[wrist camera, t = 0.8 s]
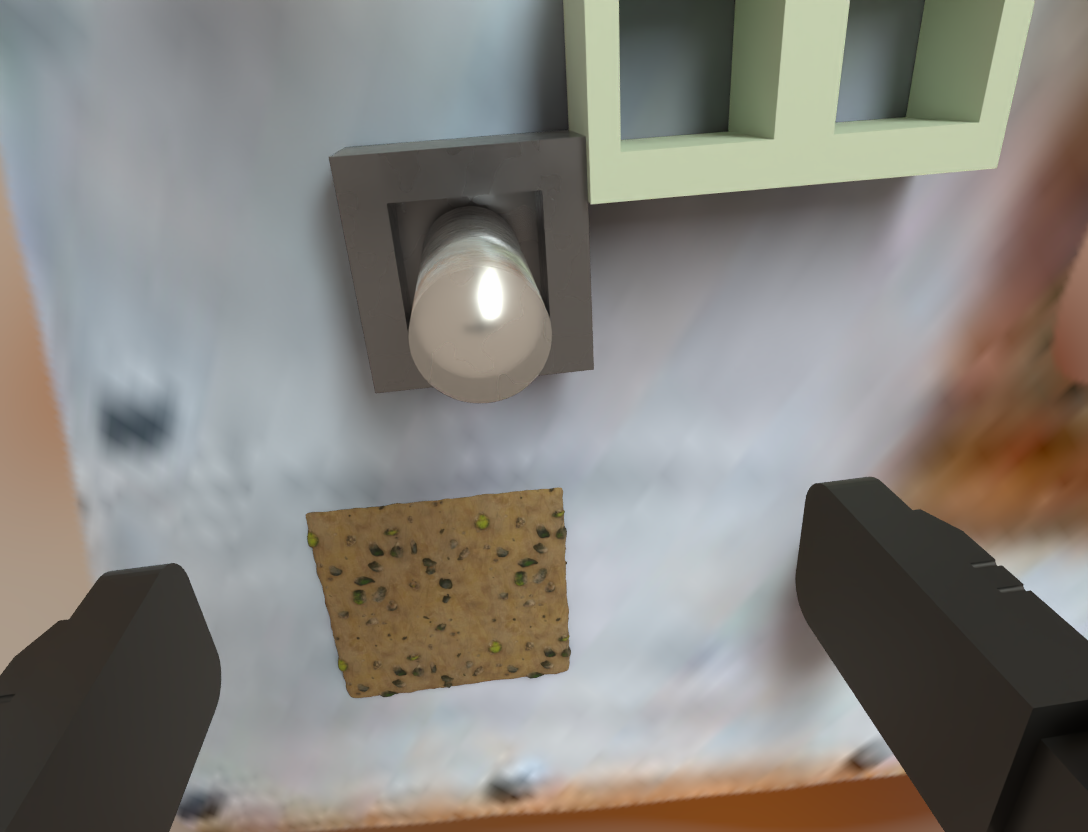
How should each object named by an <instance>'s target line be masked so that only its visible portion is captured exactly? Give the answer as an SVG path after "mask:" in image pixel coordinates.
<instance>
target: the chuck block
mask: <svg viewBox="0 0 1088 832" xmlns="http://www.w3.org/2000/svg"><path fill="white" fill-rule="evenodd" d="M329 161H330V166H331V171H332V176H333V181H334V186H335V191H336V196H337V201H338V206H339V211H340V216H341V221H342V227H343V232H344V237H345V242H346V247H347V252H348V257H349V262H350V267H351V272H352V277H353V282H354V287H355V292H356V297H357V302H358V307H359V312H360V318H361V323H362V328H363V333H364V338H365V343H366V348H367V353H368V358H369V363H370V368H371V373H372V378H373V383H374V388H375V393H383V392H392V391H401V390H410V389H419V388H428V387H433V386H432V385H431V384H430V383H429V382H428V381H427V380H426V379H425V378H424V377H423V376H422V374H421V373H420V372H419V370H418V368H417V366H416V365H415V363H414V360H413V358H412V355H411V351H410V347H409V338H408V336H409V325H410V319H411V313H412V308H413V302H414V296H415V290H416V285H417V279H418V273H419V268H420V262H421V256H422V251H423V245H424V241H425V238H426V235H427V233H428V231H429V229H430V228H431V226H432V225H433V224H434V222H435V221H436V220H437V219H438V218H439V217H441V216H442V215H443V214H445V213H447V212H448V211H451V210H453V209H456V208H459V207H465V206H475V207H481V208H485V209H488V210H490V211H493V212H494V213H496V214H498V215H499V216H501V217H502V218H503V219H504V220H505V221H506V222H507V223H508V224H509V225H510V227H511V228H512V230H513V231H514V233H515V235H516V238H517V240H518V242H519V245H520V247H521V250H522V252H523V254H524V257H525V259H526V262H527V264H528V266H529V269H530V271H531V274H532V276H533V278H534V281H535V283H536V286H537V288H538V290H539V293H540V295H541V298H542V300H543V303H544V305H545V307H546V310H547V312H548V315H549V318H550V322H551V329H552V342H551V349H550V352H549V356H548V358H547V361H546V363H545V365H544V367H543V369H542V370H541V372H540V373H539V375H548V374H557V373H566V372H575V371H584V370H594V361H593V331H592V302H591V272H590V243H589V213H588V184H587V154H586V136H584V135H581V134H579V133H576V132H574V131H571V130H557V131H544V132H532V133H519V134H507V135H494V136H481V137H469V138H456V139H444V140H431V141H419V142H406V143H394V144H381V145H369V146H356V147H345V148H343V149H342V150H340V151H338V152H337V153H335V154H333V155H332V156H330V157H329ZM539 375H538V376H539Z"/></svg>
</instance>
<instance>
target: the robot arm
mask: <svg viewBox="0 0 1088 832" xmlns="http://www.w3.org/2000/svg"><path fill="white" fill-rule="evenodd" d="M795 579H796V592H797V597H798V601H799V605H800V608H801V611H802V613H803V616H804V618H805V620H806V622H807V623H808V625H809V626H810V628H811V629H812V631H813V633H814V634H815V636H816V637H817V639H818V640H819V642H820V643H821V645H822V646H823V648H824V649H825V651H826V652H827V654H828V655H829V657H830V658H831V660H832V661H833V663H834V664H835V666H836V667H837V669H838V670H839V672H840V673H841V675H842V676H843V678H844V680H845V681H846V683H847V684H848V686H849V687H850V689H851V690H852V692H853V693H854V695H855V696H856V698H857V699H858V701H859V702H860V704H861V705H862V707H863V708H864V710H865V711H866V713H867V714H868V716H869V717H870V719H871V720H872V722H873V723H874V725H875V727H876V728H877V730H878V731H879V733H880V734H881V736H882V737H883V739H884V740H885V742H886V743H887V745H888V746H889V748H890V749H891V751H892V752H893V754H894V755H895V757H896V758H897V760H898V761H899V763H900V764H901V766H902V767H903V769H904V770H905V772H906V774H907V775H908V776H909V778H910V780H911V781H912V783H913V784H914V786H915V787H916V788H917V790H918V792H919V793H920V795H921V796H922V798H923V799H924V801H925V802H926V804H927V805H928V807H929V808H930V810H931V811H932V813H933V814H934V816H935V817H936V819H937V820H938V822H939V824H940V825H941V827H942V828H943V830H944V831H945V832H1088V640H1087V639H1086V638H1084V637H1083V636H1082V635H1081V634H1080V633H1079V632H1078V631H1076V630H1075V629H1074V628H1073V627H1072V626H1071V625H1070V624H1068V623H1067V622H1066V621H1065V620H1064V619H1063V618H1061V617H1060V616H1059V615H1058V614H1057V613H1056V612H1055V611H1053V610H1052V609H1051V608H1050V607H1049V606H1048V605H1047V604H1045V603H1044V602H1043V601H1042V600H1041V599H1040V598H1039V597H1037V596H1036V595H1035V594H1034V593H1033V592H1032V591H1025V590H1024V587H1023V583H1021V582H1020V581H1019V580H1018V579H1017V578H1016V577H1015V576H1013V575H1012V574H1011V573H1010V572H1009V571H1008V570H1007V569H1005V568H1004V567H1003V566H997V565H996V563H995V559H994V558H993V557H992V556H991V555H989V554H988V553H987V552H986V551H985V550H984V549H983V548H981V547H980V546H979V545H978V544H977V543H976V542H975V541H973V540H972V539H971V538H970V537H969V536H968V535H967V534H965V533H964V532H963V531H961V530H959V529H958V528H956V527H954V526H952V525H950V524H948V523H946V522H944V521H942V520H940V519H938V518H936V517H934V516H932V515H930V514H928V513H926V512H924V511H923V510H921V509H919V510H912V509H910V508H909V507H908V506H907V505H906V504H905V503H904V502H903V501H902V500H901V499H900V498H899V497H897V496H896V495H895V494H894V493H893V492H892V491H891V490H890V489H889V488H888V487H887V486H886V485H884V484H883V483H882V482H881V481H880V480H878V479H876V478H874V477H863V478H855V479H847V480H840V481H832V482H824V483H816V484H814V485H812V486H811V487H810V488H809V490H808V492H807V495H806V500H805V507H804V515H803V523H802V530H801V538H800V545H799V553H798V561H797V568H796V578H795ZM220 688H221V667H220V660H219V656H218V653H217V650H216V647H215V644H214V642H213V639H212V637H211V634H210V632H209V629H208V627H207V624H206V621H205V619H204V616H203V614H202V611H201V609H200V606H199V603H198V601H197V598H196V596H195V593H194V591H193V588H192V586H191V583H190V580H189V578H188V576H187V574H186V572H185V571H184V569H183V568H182V567H181V566H180V565H178V564H175V563H171V564H164V565H156V566H148V567H140V568H132V569H124V570H116V571H109V572H107V573H104V574H103V575H102V576H101V577H100V578H99V579H98V580H97V581H96V583H95V584H94V585H93V587H92V588H91V590H90V591H89V593H88V594H87V595H86V597H85V598H84V600H83V601H82V602H81V604H80V605H79V606H78V608H77V609H76V611H75V612H74V613H73V615H72V616H71V618H70V619H69V620H61V621H58V622H57V623H56V624H54V625H53V626H52V627H51V628H50V629H48V630H47V631H46V632H45V633H43V634H42V635H41V636H40V637H38V638H37V639H36V640H35V641H34V642H32V643H31V644H30V645H29V646H27V647H26V648H25V649H24V650H22V651H21V652H20V653H19V654H18V655H16V656H15V657H14V658H13V660H12V661H11V662H10V663H9V665H8V666H7V667H6V669H5V670H4V671H3V673H2V674H1V675H0V832H169V831H170V828H171V826H172V823H173V821H174V818H175V815H176V813H177V810H178V807H179V805H180V802H181V799H182V797H183V794H184V792H185V789H186V786H187V784H188V781H189V778H190V776H191V773H192V770H193V768H194V765H195V763H196V760H197V757H198V755H199V752H200V749H201V747H202V744H203V741H204V739H205V736H206V734H207V731H208V728H209V726H210V723H211V720H212V718H213V715H214V712H215V710H216V707H217V704H218V700H219V695H220Z"/></svg>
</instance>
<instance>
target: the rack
mask: <svg viewBox="0 0 1088 832" xmlns="http://www.w3.org/2000/svg"><path fill="white" fill-rule="evenodd" d="M1034 3H1035V0H925V4H924V10H923V16H922V22H921V28H920V34H919V40H918V46H917V52H916V58H915V65H914V71H913V77H912V83H911V89H910V95H909V101H908V107H907V113H906V117H899V118H887V119H874V120H862V121H850V122H837V123H835V120H836V112H837V103H838V95H839V87H840V79H841V70H842V62H843V54H844V46H845V37H846V29H847V21H848V13H849V4H850V0H735V17H734V35H733V53H732V71H731V89H730V107H729V126H728V131H727V132H715V133H702V134H690V135H678V136H666V137H653V138H641V139H629V140H621V138H620V57H619V0H563V11H564V34H565V56H566V79H567V101H568V124H569V130H571V131H574V132H576V133H579V134H581V135H584V136H586V154H587V184H588V202H589V203H590V204H600V203H612V202H623V201H634V200H645V199H656V198H668V197H679V196H690V195H701V194H713V193H724V192H735V191H746V190H758V189H769V188H780V187H791V186H803V185H814V184H825V183H836V182H848V181H859V180H870V179H881V178H893V177H904V176H915V175H926V174H938V173H949V172H960V171H971V170H982V169H994V168H997V165H998V161H999V156H1000V152H1001V147H1002V143H1003V139H1004V134H1005V130H1006V126H1007V121H1008V117H1009V112H1010V108H1011V104H1012V99H1013V95H1014V90H1015V86H1016V82H1017V77H1018V73H1019V69H1020V64H1021V60H1022V55H1023V51H1024V47H1025V42H1026V38H1027V34H1028V29H1029V25H1030V20H1031V16H1032V12H1033V7H1034Z"/></svg>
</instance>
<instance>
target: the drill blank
mask: <svg viewBox="0 0 1088 832" xmlns="http://www.w3.org/2000/svg"><path fill="white" fill-rule="evenodd" d="M408 338H409V347H410V351H411V355H412V358H413V360H414V363H415V365H416V366H417V368H418V370H419V372H420V373H421V374H422V376H423V377H424V378H425V379H426V380H427V381H428V382H429V383H430V384H431V385H432V386H433V387H434V388H436V389H437V390H438V391H440V392H442V393H443V394H445V395H447V396H449V397H451V398H454V399H457V400H460V401H464V402H470V403H490V402H496V401H500V400H503V399H506V398H509V397H511V396H513V395H515V394H517V393H519V392H520V391H522V390H523V389H525V388H526V387H527V386H528V385H529V384H531V383H532V382H533V381H534V380H535V378H536V377H537V376H538V375H539V373H540V372H541V370H542V369H543V367H544V365H545V363H546V361H547V358H548V356H549V352H550V349H551V342H552V329H551V322H550V318H549V315H548V312H547V310H546V307H545V305H544V303H543V300H542V298H541V295H540V293H539V290H538V288H537V286H536V283H535V281H534V278H533V276H532V274H531V271H530V269H529V266H528V264H527V262H526V259H525V257H524V254H523V252H522V250H521V247H520V245H519V242H518V240H517V238H516V235H515V233H514V231H513V230H512V228H511V227H510V225H509V224H508V223H507V222H506V221H505V220H504V219H503V218H502V217H501V216H499V215H498V214H496V213H494V212H493V211H490V210H488V209H485V208H481V207H475V206H465V207H459V208H456V209H453V210H451V211H448V212H447V213H445V214H443V215H442V216H441V217H439V218H438V219H437V220H436V221H435V222H434V224H433V225H432V226H431V228H430V229H429V231H428V233H427V235H426V238H425V241H424V245H423V251H422V256H421V262H420V268H419V273H418V279H417V285H416V290H415V296H414V302H413V308H412V313H411V319H410V325H409V336H408Z"/></svg>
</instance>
